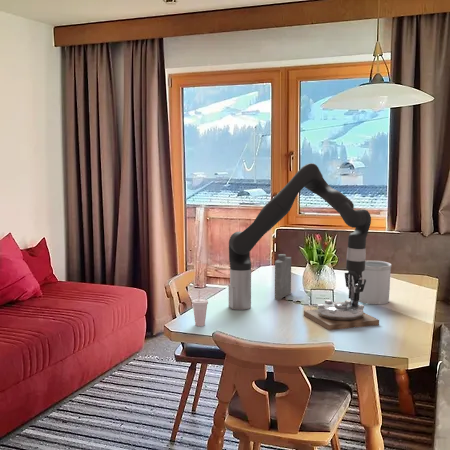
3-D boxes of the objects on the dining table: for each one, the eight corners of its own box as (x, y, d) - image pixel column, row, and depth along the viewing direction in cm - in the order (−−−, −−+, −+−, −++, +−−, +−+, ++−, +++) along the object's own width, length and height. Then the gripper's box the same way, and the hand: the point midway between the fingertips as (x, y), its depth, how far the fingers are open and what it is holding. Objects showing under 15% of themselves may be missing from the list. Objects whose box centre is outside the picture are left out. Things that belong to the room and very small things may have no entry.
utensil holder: (388, 306, 256) (389, 267, 254) (354, 303, 261) (355, 265, 259) (391, 298, 269) (393, 261, 267) (359, 295, 275) (360, 259, 273)
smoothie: (199, 321, 232) (199, 287, 230) (211, 324, 228) (211, 289, 226) (188, 325, 227) (188, 290, 225) (200, 328, 223) (200, 292, 221)
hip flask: (280, 300, 267) (280, 257, 265) (271, 299, 269) (272, 256, 266) (291, 292, 281) (292, 252, 279) (283, 291, 283) (284, 251, 281)
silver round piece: (308, 311, 238) (309, 286, 237) (343, 306, 246) (344, 281, 245) (336, 322, 222) (337, 295, 221) (373, 316, 230) (373, 290, 229)
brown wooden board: (329, 330, 221) (329, 324, 220) (303, 315, 241) (303, 310, 241) (379, 324, 227) (379, 319, 227) (350, 310, 248) (350, 305, 248)
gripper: (373, 261, 228) (370, 304, 231) (355, 254, 242) (353, 294, 244) (356, 262, 226) (354, 305, 229) (339, 255, 240) (337, 295, 242)
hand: (353, 299), depth 237 cm, fingers closed on silver round piece, 3 cm apart
